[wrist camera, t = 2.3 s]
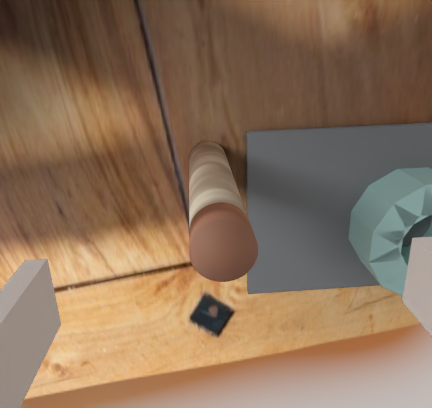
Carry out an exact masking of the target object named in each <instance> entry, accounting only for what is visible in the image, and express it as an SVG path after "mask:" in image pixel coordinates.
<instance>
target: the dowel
mask: <svg viewBox="0 0 432 408" xmlns="http://www.w3.org/2000/svg"><path fill="white" fill-rule="evenodd" d="M189 241H190V259H191V263H192V265H193V266H194V268H195V269H196V271H197V272H198V273H200V274H201V275H202V276H204V277H205V278H207V279H210V280H213V281H219V282H226V281H232V280H235V279H238V278H240V277H242V276H243V275H245V274H246V273H247V272H248V271H249V270H250V269H251V268H252V267H253V265H254V264H255V262H256V259H257V256H258V244H257V240H256V238H255V235H254V232H253V229H252V227H251V224H250V221H249V218H248V215H247V213H246V210H245V207H244V204H243V202H242V199H241V196H240V193H239V191H238V188H237V185H236V182H235V180H234V177H233V174H232V171H231V168H230V166H229V163H228V160H227V157H226V155H225V152H224V150H223V148H222V147H221V146H220V145H219V144H217V143H215V142H213V141H203V142H200V143H198V144H197V145H195V146H194V147H193V149H192V150H191V152H190V156H189Z"/></svg>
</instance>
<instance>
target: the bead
mask: <svg viewBox="0 0 432 408" xmlns="http://www.w3.org/2000/svg"><path fill="white" fill-rule="evenodd" d="M429 215H432V169H431V168H429V167H424V168H405V169H396V170H395V171H393V172H391V173H389V174H388V175H386V176H384V177H382V178H381V179H379V180H377V181H376V182H374V183H372V184H370V185H369V186H368V187H367V189H366V190H365V192H364V193H363V195H362V196H361V198H360V199H359V200H358V202H357V203H356V205H355V206H354V208H353V209H352V211H351V218H350V228H349V238H348V239H349V241H350V242H351V244H352V246H353V248H354V250H355V251H356V253H357V255H358V257H359V259H360V261H361V262H362V263H363V264H364V265H365V267H366V268H367V269H368V270H369V271H370V273H371V274H372V275H373V276H374V277H375V279H376V280H377V281H378V282H379V283H380V285H381V286H382V287H384V288H387V289H389V290H391V291H393V292H395V293H397V294H399V295H401V296H403V293H404V287H405V281H406V274H407V268H408V262H409V256H410V249H411V245H409V246H404V247H402V242H403V238H404V236H405V235H406V234H407V232H408V231H409V230H410V228H411V227H412V226H413V224H415V223H417V222H419V221H420V220H422V219H424V218H426V217H428V216H429ZM423 237H432V220H431V225H430V228H429V229H428V231H427V232H426V233H425V234H424V236H423Z"/></svg>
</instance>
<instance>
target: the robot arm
mask: <svg viewBox="0 0 432 408" xmlns="http://www.w3.org/2000/svg"><path fill="white" fill-rule="evenodd" d="M402 302H403V303H404V304H405V306H406V307H407V308H408V309H409V310H410V311H411V313H412V314H413V315H414V316H415V317H416V318H417V320H418V321H419V322H420V323H421V324H422V325H423V327H424V328H425V329H426V330H427V331H428V332H429V334H430V335H431V336H432V237H418V238H412V243H411V249H410V256H409V262H408V268H407V274H406V281H405V287H404V293H403V300H402ZM60 325H61V321H60V316H59V311H58V307H57V302H56V297H55V293H54V288H53V283H52V279H51V274H50V269H49V264H48V260H47V259H37V260H25V261H24V262H23V263H22V265H21V266H20V267H19V268H18V269H17V271H16V272H15V273H14V274H13V276H12V277H11V278H10V279H9V280H8V282H7V283H6V284H5V285H4V286H3V288H2V289H1V290H0V408H20V406H21V404H22V402H23V400H24V398H25V396H26V394H27V392H28V390H29V388H30V386H31V384H32V382H33V380H34V378H35V376H36V374H37V372H38V370H39V368H40V366H41V364H42V362H43V360H44V357H45V355H46V353H47V351H48V349H49V347H50V345H51V343H52V341H53V339H54V337H55V335H56V333H57V331H58V329H59V327H60Z"/></svg>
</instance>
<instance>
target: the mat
mask: <svg viewBox="0 0 432 408" xmlns="http://www.w3.org/2000/svg"><path fill="white" fill-rule="evenodd" d="M246 147H247V215H248V218H249V221H250V224H251V227H252V229H253V232H254V235H255V238H256V240H257V244H258V256H257V259H256V262H255V264H254V265H253V267H252V268H251V269H250V270H249V271H248V272H247V291H248V294H255V293H270V292H285V291H300V290H314V289H329V288H344V287H359V286H374V285H380V283H379V282H378V281H377V280H376V279H375V277H374V276H373V275H372V274H371V273H370V271H369V270H368V269H367V268H366V267H365V265H364V264H363V263H362V262H361V261H360V259H359V257H358V255H357V253H356V251H355V250H354V248H353V246H352V244H351V242H350V241H349V239H348V238H349V228H350V218H351V211H352V209H353V208H354V206H355V205H356V203H357V202H358V200H359V199H360V198H361V196H362V195H363V193H364V192H365V190H366V189H367V187H368V186H369V185H370V184H372V183H374V182H376V181H377V180H379V179H381V178H382V177H384V176H386V175H388V174H389V173H391V172H393V171H395V170H396V169H405V168H424V167H429V168H431V169H432V122H428V123H407V124H386V125H364V126H343V127H322V128H300V129H279V130H258V131H246ZM431 220H432V215H429V216H428V217H426V218H424V219H422V220H420V221H419V222H417V223H415V224H413V226H412V227H411V228H410V230H409V231H408V232H407V234H406V235H405V236H404V238H403V242H402V247H404V246H409V245H411V243H412V238H418V237H423V236H424V234H425V233H426V232H427V231H428V229H429V228H430V225H431Z"/></svg>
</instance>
